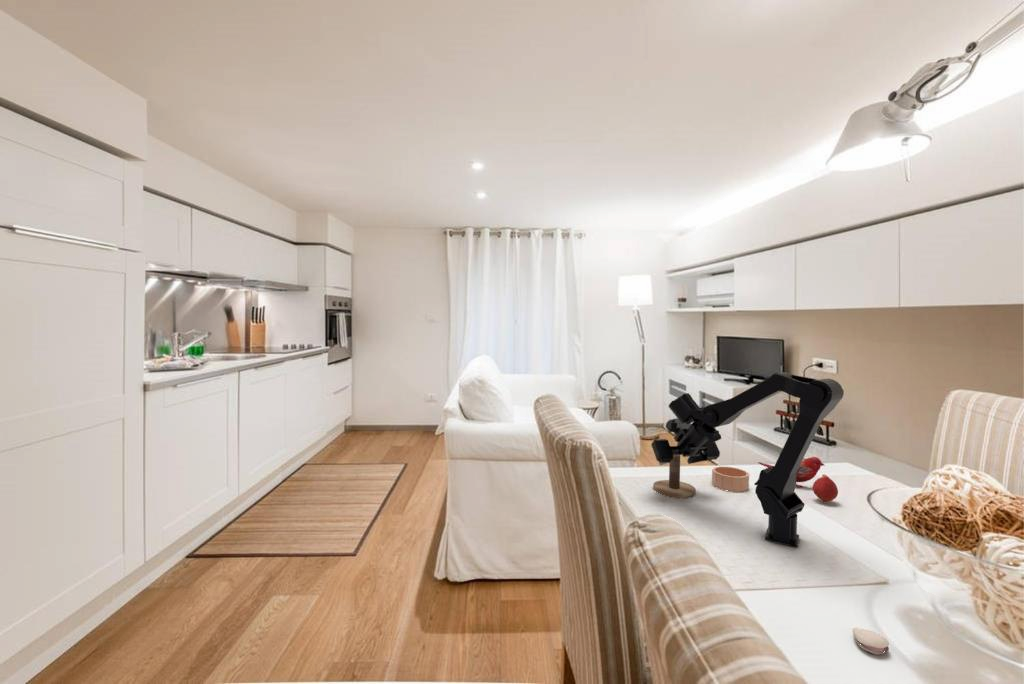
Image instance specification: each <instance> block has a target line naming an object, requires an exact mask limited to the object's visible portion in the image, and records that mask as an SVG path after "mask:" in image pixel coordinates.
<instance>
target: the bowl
mask: <svg viewBox="0 0 1024 684" xmlns="http://www.w3.org/2000/svg"><path fill="white" fill-rule="evenodd" d="M711 474H712V475H711V483H712V486H713V485H714V486H713V487H715V488H716V487H717V488H716V489H718V488H720V489H719V490H721V489H723V490H722V491H725V490H728V491H727V492H730V491H733V492H732V493H744V492H743V491H745V492H747V490H748V491H749V487H750V473H749V472H748V471H746V470H744V469H742V468H737V467H733V466H722V465H721V466H715V467H714V466H713V468H712V470H711Z"/></svg>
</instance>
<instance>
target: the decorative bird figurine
mask: <svg viewBox="0 0 1024 684" xmlns="http://www.w3.org/2000/svg"><path fill="white" fill-rule="evenodd" d="M757 464H759V465H761V466H763V467H766V468H769V467H771V466H773V465H771V464H768V463H763V462H757ZM823 466H824V467H825V464H824V463H823V462H822V460H821V459H820V458H819V457H816V456H813V457H808V458H806V459H803V460H802V462H801V464H800V466H799V468H798V470H797V472H796V486H797V487H796V488H799V487H802V488H807V486H804V485H802V484H797V483H805V482H808V481H810V480H813V479H814V478H815V477H816V476H817V473H818V472H819V471H820V470H821V467H823Z"/></svg>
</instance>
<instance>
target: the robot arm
mask: <svg viewBox="0 0 1024 684" xmlns="http://www.w3.org/2000/svg"><path fill="white" fill-rule="evenodd" d="M844 391H845V390H844V389H843V387H842V385H841V384H840V383H839V382H838V381H837V380H835V379H832V378H820V379H817V378H812V377H807V376H801V375H796V374H792V373H789V372H776V373H773V374H772V375H771V376H769V377H768V378H766V379H765V380H763V381H761V382H758V383H757V384H755V385H753V386H751V387H750V388H748V389H746V390H744V391H743V392H741V393H739V394H737V395H735V396H733V397H731V398H728V399H725V400H722V401H719V402H715V403H712V404H707V405H705V406H703V407H700V406H699V405H698V404H697V402H696V401H695V400H694V399H693V397H692V396H691V394H690V393H689V392H686V393H683V394H682V395H680V396H679V397H677V398H676V399H674V400H671V402H670V403H669V404H668V408H669V410H670V411H671V412H672V413H673V414H674V416H675V417H676V418H671V419H668V421H666V424H665V428H666V430H667V431H668V433H673V434H674V437H673V438H674V441H675V442H677V444H676V445H675V446H674V445H672V446H671V445H670V443H669V440H668V439H666V438H657V439H656V438H654V440H653V441H652V442H651V448H652V451H653V453H654V456H655V459H656V462H657V461H658V463H659V466H664V465H667V464H669V463H670V462H671V460H672V459H673V455H680V456H682V457H685V458H686V457H687V464H688V465H690V464H696V463H697V464H698V463H704V462H709V461H712V460H718V458H719V457H720V456H721V451H720V449H719V446H718V445H717V442H718V441H719V440H721V439H722V436H721V434H720V430H717V429H716V428H717V427H722V426H725V425H726V426H727V425H730V424H731V423H733V422H734V421H735V420H736V419H738V418H739V417H740V416H741V415H742V413H744V412H745V411H746V410H748V409H751V408H752V407H754V406H756V405H758V404H760V403H762V402H763V401H765V400H768V399H769V398H771V397H773V396H775V395H778V394H779V393H781V392H783V393H785V394H788V395H790V396H792V397H795V398H798V399H799V401H798V412H799V413H798V416H797V417H796V420H795V422H794V424H793V425H792V428H791V430H790V433H789V435H788V437H787V439H786V441H785V443H784V445H783V447H782V450H781V451H780V453H779V456H778V458H777V459H776V461H775V464H774V465H772V466H771V467H769V468H768V467H766V468H764V469H761V470H760V473H759V475H758V479H757V481H755V482H754V486H756V487H755V495H756V497H757V498H758V501H760V504H761V507H762V510H763V513H764V514H765V515H767V516H768V525H767V526H768V527H767V528H766V532H765V535H764V539H765V540H766V541H769V542H773V543H778V544H782V545H785V546H790V547H794V548H798V547H799V540H800V535H799V534H798V513H801V512H802V511H803V509H804V507H805V503H804V502H803V500H802V499H801V498H800V496H798V494H797V493H796V492H795V491H796V490H795V489H796V487H795V486H796V484H797V482H796V472H797V470H798V468H799V466H800V464H801V462H802V461H804V457H805V455H806V453H807V451H808V450H809V448H810V446H811V443H812V441H813V440H814V437H815V435H816V434H817V432H818V430H819V428H820V426H821V424H822V422H823V420H824V419H825V418H826V417H827V416H828V415H829V414H830V413H831V412H832V411H833V410H835V408H836V407H837V406H838V404H839V403H840V401H842V399H843V397H844V394H845V392H844Z"/></svg>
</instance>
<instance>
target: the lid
mask: <svg viewBox="0 0 1024 684" xmlns="http://www.w3.org/2000/svg"><path fill="white" fill-rule="evenodd" d="M668 464H669V467H668V468H669V472H668V473H669V474H668V479H664V480H663V479H662V480H657V481H655V482H654V483H653V486H652V488H653V489H652V490H653V491H654V490H655V491H656V492H655V491H654V492H655V493H657V492H658V493H660V494H662V495H661V496H663V495H665V496H664V497H666V496H669V497H668V498H671V497H675V498H674V499H680V498H684V499H690V498H689V497H691V498H693V496H694V495H695V494H697V490H696V488H695V486H693V485H691V484H690V483H687V482H684V481H681V455H673V459H672V460H671V462H670V463H668ZM658 493H657V494H658ZM660 494H659V495H660ZM695 496H696V495H695ZM695 496H694V497H695Z"/></svg>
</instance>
